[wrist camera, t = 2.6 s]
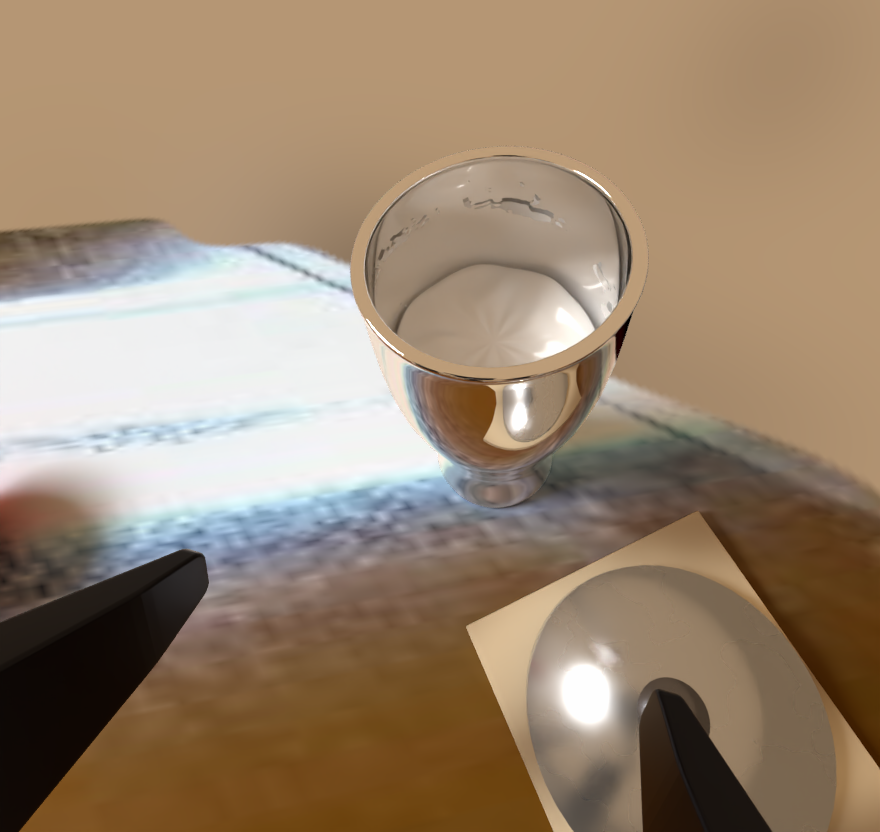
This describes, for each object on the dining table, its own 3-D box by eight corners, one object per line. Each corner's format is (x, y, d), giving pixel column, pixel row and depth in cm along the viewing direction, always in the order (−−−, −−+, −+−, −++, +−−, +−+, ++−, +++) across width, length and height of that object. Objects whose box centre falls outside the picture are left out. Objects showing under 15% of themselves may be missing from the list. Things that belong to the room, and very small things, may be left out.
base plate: (893, 804, 16) (911, 814, 16) (611, 961, 16) (617, 979, 15) (691, 513, 21) (697, 510, 20) (466, 625, 20) (465, 626, 20)
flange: (888, 804, 16) (913, 817, 15) (621, 953, 15) (630, 978, 14) (695, 525, 20) (705, 521, 19) (480, 632, 20) (480, 634, 19)
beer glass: (521, 373, 25) (553, 101, 11) (586, 481, 22) (734, 298, 9) (410, 424, 25) (302, 207, 11) (463, 540, 22) (409, 449, 8)
